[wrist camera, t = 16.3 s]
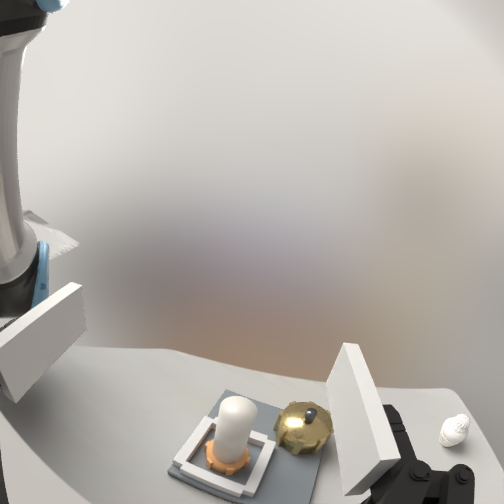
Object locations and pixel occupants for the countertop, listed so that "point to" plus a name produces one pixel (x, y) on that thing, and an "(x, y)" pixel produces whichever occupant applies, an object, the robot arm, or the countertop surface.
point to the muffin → (454, 430)
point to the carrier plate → (249, 463)
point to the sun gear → (303, 428)
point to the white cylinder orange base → (231, 436)
